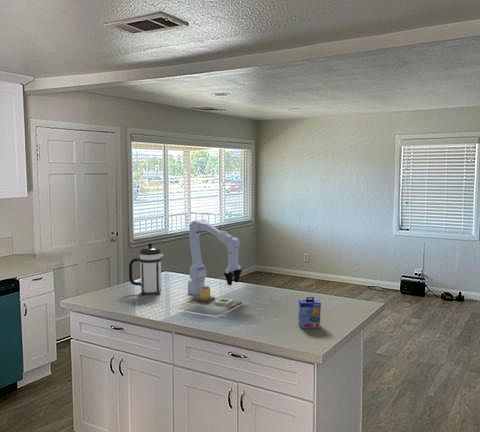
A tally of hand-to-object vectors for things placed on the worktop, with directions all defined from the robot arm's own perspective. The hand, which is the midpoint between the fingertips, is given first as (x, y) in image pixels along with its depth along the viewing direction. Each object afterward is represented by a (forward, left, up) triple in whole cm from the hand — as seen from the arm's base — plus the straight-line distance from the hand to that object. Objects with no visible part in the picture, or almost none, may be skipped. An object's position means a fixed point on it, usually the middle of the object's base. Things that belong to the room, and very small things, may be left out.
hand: (233, 283), depth 267 cm
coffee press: (-53, -9, -10) cm, 54 cm away
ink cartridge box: (+52, -20, -10) cm, 57 cm away
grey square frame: (-13, -9, -10) cm, 18 cm away
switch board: (-7, -9, -10) cm, 15 cm away
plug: (-13, -9, -9) cm, 18 cm away
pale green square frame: (-1, -9, -10) cm, 13 cm away
